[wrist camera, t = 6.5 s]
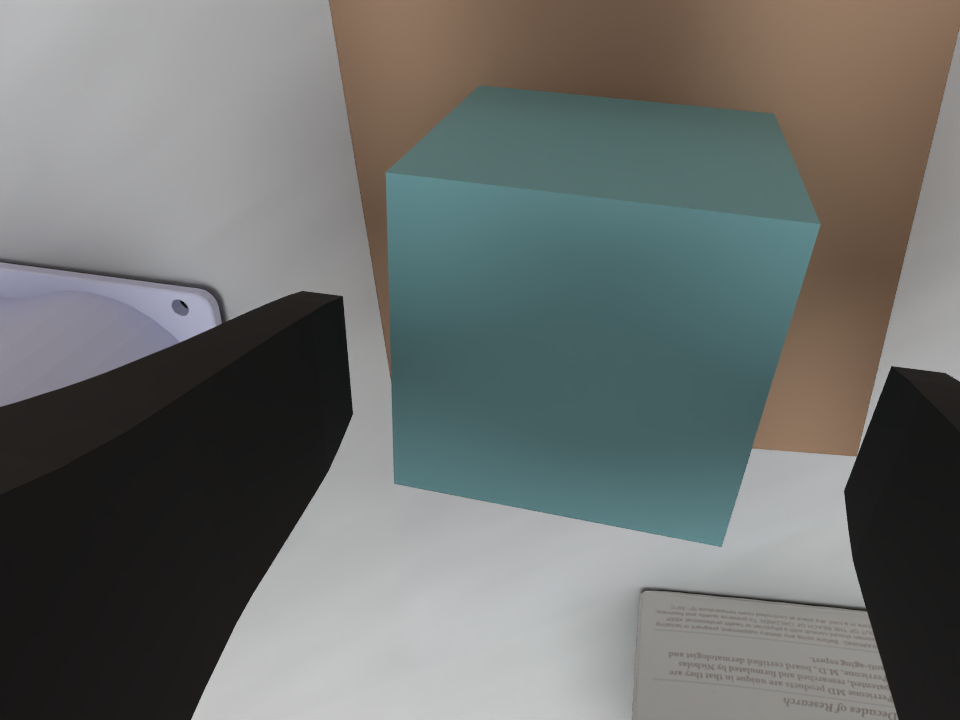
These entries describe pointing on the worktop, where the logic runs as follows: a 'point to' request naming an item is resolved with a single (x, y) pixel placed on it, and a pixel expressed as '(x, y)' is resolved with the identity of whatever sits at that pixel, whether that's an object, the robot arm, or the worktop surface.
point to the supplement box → (755, 661)
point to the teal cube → (591, 304)
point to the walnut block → (706, 83)
